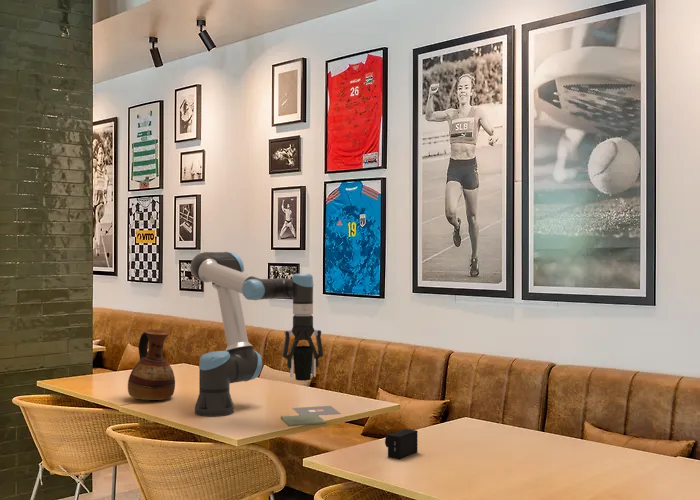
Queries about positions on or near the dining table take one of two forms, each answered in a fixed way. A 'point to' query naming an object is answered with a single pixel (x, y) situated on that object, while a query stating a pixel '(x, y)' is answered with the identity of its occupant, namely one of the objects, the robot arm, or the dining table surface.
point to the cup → (303, 362)
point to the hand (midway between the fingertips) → (302, 376)
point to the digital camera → (401, 443)
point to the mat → (302, 420)
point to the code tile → (316, 410)
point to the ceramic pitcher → (152, 369)
